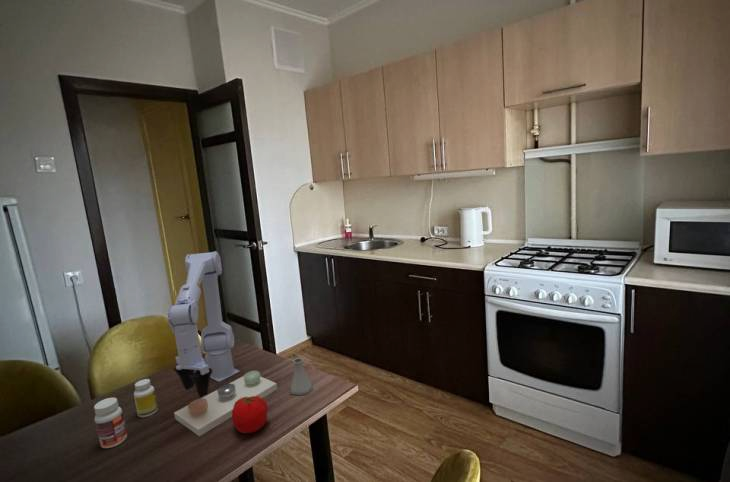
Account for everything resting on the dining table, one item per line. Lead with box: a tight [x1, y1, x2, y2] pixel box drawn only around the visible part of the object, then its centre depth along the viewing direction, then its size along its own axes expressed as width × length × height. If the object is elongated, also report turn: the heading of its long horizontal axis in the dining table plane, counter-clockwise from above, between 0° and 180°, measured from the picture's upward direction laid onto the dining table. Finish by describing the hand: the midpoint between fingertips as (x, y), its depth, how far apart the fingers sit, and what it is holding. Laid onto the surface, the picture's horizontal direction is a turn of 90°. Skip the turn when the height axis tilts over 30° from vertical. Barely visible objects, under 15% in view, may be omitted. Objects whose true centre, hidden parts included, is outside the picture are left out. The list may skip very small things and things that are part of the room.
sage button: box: [243, 370, 261, 384], centre depth 121 cm, size 5×5×2 cm
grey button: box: [216, 383, 236, 398], centre depth 114 cm, size 5×5×2 cm
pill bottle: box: [93, 397, 128, 449], centre depth 101 cm, size 6×6×11 cm
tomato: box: [231, 396, 269, 434], centre depth 102 cm, size 9×10×8 cm
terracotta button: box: [187, 397, 208, 415], centre depth 108 cm, size 5×5×2 cm
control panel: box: [173, 375, 278, 437], centre depth 115 cm, size 14×26×2 cm, turn 141°
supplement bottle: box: [133, 378, 159, 418], centre depth 114 cm, size 5×5×10 cm
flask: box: [290, 357, 313, 396], centre depth 118 cm, size 7×7×10 cm
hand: (196, 391), depth 107 cm, fingers open, 7 cm apart
